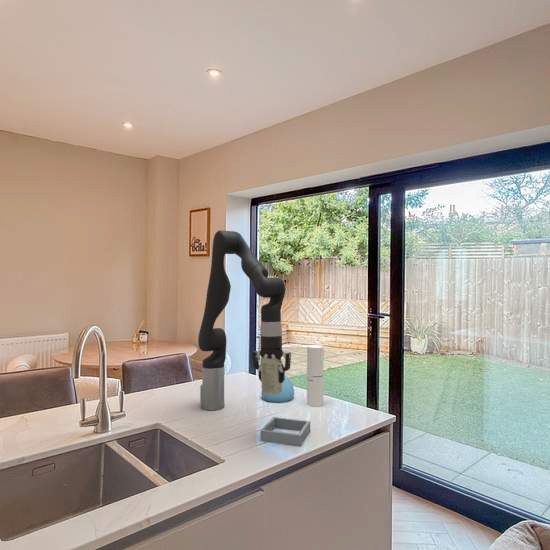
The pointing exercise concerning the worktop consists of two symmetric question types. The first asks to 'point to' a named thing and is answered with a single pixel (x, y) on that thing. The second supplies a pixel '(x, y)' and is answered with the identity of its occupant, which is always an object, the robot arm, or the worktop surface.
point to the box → (283, 437)
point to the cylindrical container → (315, 375)
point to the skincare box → (270, 376)
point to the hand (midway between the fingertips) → (271, 381)
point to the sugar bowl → (284, 395)
